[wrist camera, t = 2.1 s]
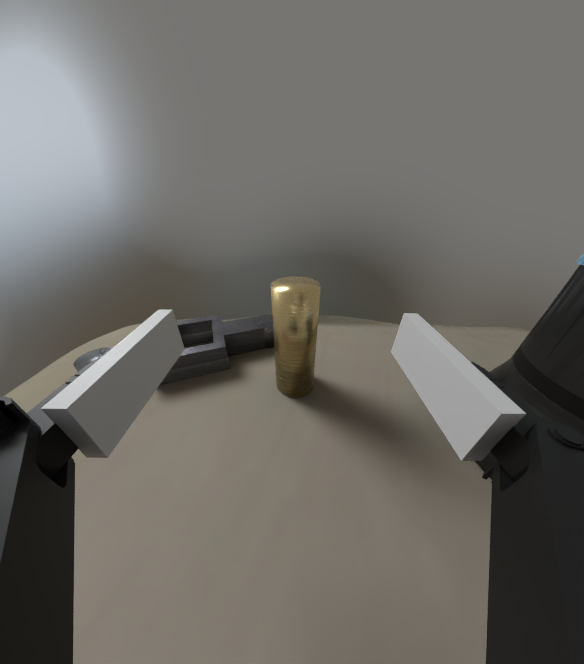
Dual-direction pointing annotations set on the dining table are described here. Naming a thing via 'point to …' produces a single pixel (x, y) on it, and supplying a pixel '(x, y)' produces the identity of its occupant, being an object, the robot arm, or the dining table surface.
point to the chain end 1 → (172, 374)
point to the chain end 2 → (225, 338)
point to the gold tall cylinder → (295, 333)
